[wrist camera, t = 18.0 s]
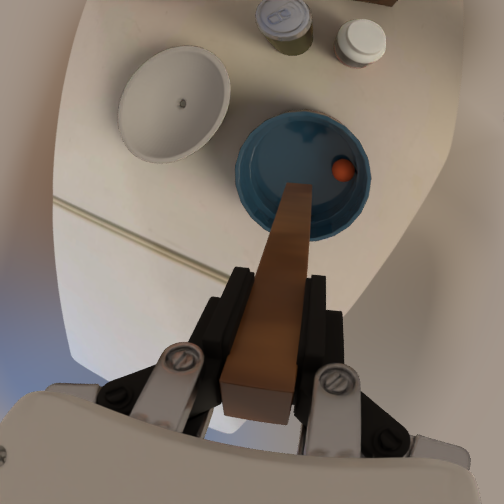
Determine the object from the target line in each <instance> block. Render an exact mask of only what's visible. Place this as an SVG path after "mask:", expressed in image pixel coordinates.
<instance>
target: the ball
mask: <svg viewBox="0 0 504 504" xmlns="http://www.w3.org/2000/svg"><path fill="white" fill-rule="evenodd" d="M354 173H355V168H354V166H353V164H352V163H351V162H350V161H349V160H346V159H339V160H337V161H336V162H335V163H334V164H333V166H332V174H333V176H334V177H335V178H336V179H337V180H338V181H341V182H347V181H349V180H351V179H352V178H353V176H354Z"/></svg>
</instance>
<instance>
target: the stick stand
mask: <svg viewBox="0 0 504 504" xmlns="http://www.w3.org/2000/svg"><path fill="white" fill-rule="evenodd" d="M355 1H362V2H369V3H374V4H380V5H385V6H390V7H392V6H393V5H394V4H395V3H396V2H397V1H398V0H355Z"/></svg>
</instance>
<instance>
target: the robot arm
mask: <svg viewBox="0 0 504 504" xmlns="http://www.w3.org/2000/svg"><path fill="white" fill-rule="evenodd" d="M254 281H255V276H254V272H250V269H249V268H243V267H235V268H234V270H233V272H232V274H231V276H230V278H229V281H228V283H227V285H226V287H225V289H224V291H223V294H222V296H221V298H219V297H211V298H210V299H209V301H208V303H207V305H206V307H205V309H204V311H203V313H202V315H201V317H200V319H199V321H198V323H197V325H196V327H195V329H194V331H193V333H192V335H191V337H190V339H189V341H188V342H179V343H175V344H172V345H170V346H169V347H167V348H166V349H165V350H164V352H163V353H162V354H161V356H160V358H159V360H158V362H157V364H156V365H153V366H151V367H148V368H145V369H143V370H140V371H137V372H135V373H132V374H129V375H127V376H124V377H121V378H118V379H115V380H113V381H110V382H108V383H107V384H105V385H104V386H103V387H100V386H99V385H98V384H71V383H55V384H52V385H50V386H49V387H47V388H46V390H45V391H36V392H31V393H29V394H26V395H25V396H23V397H22V398H21V399H20V400H18V402H17V403H16V404H15V405H14V406H13V407H12V408H11V410H10V411H9V412H8V414H7V415H6V416H5V417H4V419H3V420H2V422H1V423H0V504H481V497H480V492H479V488H478V485H477V482H476V480H475V478H474V477H473V475H472V473H471V472H470V471H469V469H470V462H471V458H470V455H469V453H468V452H467V451H466V450H465V449H464V448H462V447H460V446H456V445H452V444H449V443H445V442H442V441H438V440H435V439H431V438H428V437H425V436H422V435H418V434H417V435H416V436H412V435H409V433H408V431H407V430H406V429H405V428H404V427H403V426H402V425H401V424H400V423H399V422H397V421H396V420H395V419H394V418H392V417H391V416H390V415H389V414H388V413H386V412H385V411H384V410H383V409H382V408H380V407H379V406H378V405H377V404H375V403H374V402H373V401H372V400H371V399H370V398H369V397H367V396H366V395H365V394H364V393H362V392H361V390H360V379H359V376H358V374H357V372H356V371H355V370H354V369H353V368H351V367H350V366H347V365H345V364H344V339H343V316H342V311H333V310H326V276H321V275H312V276H311V278H306V281H305V290H304V301H303V311H302V320H301V329H300V338H299V346H298V354H297V362H296V364H297V365H298V368H297V376H296V384H295V391H294V397H293V401H292V405H295V406H294V416H295V417H297V419H298V420H299V421H300V422H301V423H302V424H301V431H300V437H299V444H298V450H297V455H294V454H285V453H277V452H270V451H263V450H256V449H250V448H244V447H238V446H233V445H228V444H223V443H219V442H214V441H210V440H206V439H204V437H205V434H206V431H207V428H208V425H209V422H210V419H211V416H212V413H213V409H214V407H216V406H218V405H220V404H221V402H222V398H221V391H220V384H219V379H220V376H221V373H222V370H223V368H224V365H225V362H226V359H227V356H228V355H229V354H230V351H231V348H232V345H233V343H234V340H235V337H236V334H237V331H238V328H239V325H240V322H241V319H242V316H243V313H244V310H245V307H246V305H247V302H248V299H249V296H250V293H251V290H252V287H253V284H254Z"/></svg>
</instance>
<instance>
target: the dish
mask: <svg viewBox="0 0 504 504" xmlns="http://www.w3.org/2000/svg"><path fill="white" fill-rule="evenodd" d="M230 93H231V86H230V79H229V75H228V72H227V70H226V67H225V66H224V64H223V63H222V61H221V60H220V59H219V58H218V57H217V56H216V55H215V54H213V53H212V52H210V51H208V50H206V49H204V48H201V47H197V46H178V47H173V48H170V49H167V50H164V51H162V52H160V53H158V54H156V55H154V56H153V57H151V58H150V59H148V60H147V61H146V62H145V63H144V64H142V65H141V66H140V67H139V68H138V69H137V71H136V72H135V73H134V74H133V75H132V77H131V78H130V80H129V81H128V83H127V85H126V87H125V89H124V91H123V94H122V96H121V99H120V103H119V108H118V127H119V132H120V135H121V138H122V140H123V142H124V144H125V146H126V147H127V148H128V150H129V151H130V152H131V153H132V154H134V155H135V156H136V157H138V158H140V159H141V160H144V161H146V162H150V163H159V164H163V163H171V162H175V161H178V160H181V159H183V158H185V157H188V156H189V155H191V154H193V153H194V152H196V151H197V150H199V149H200V148H201V147H202V146H204V145H205V144H206V143H207V142H208V141H209V140H210V138H211V137H212V136H213V135H214V134H215V132H216V131H217V130H218V128H219V126H220V125H221V123H222V121H223V119H224V117H225V115H226V112H227V109H228V106H229V101H230ZM181 100H185V101H186V106H185V107H181V106H180V102H181Z"/></svg>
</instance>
